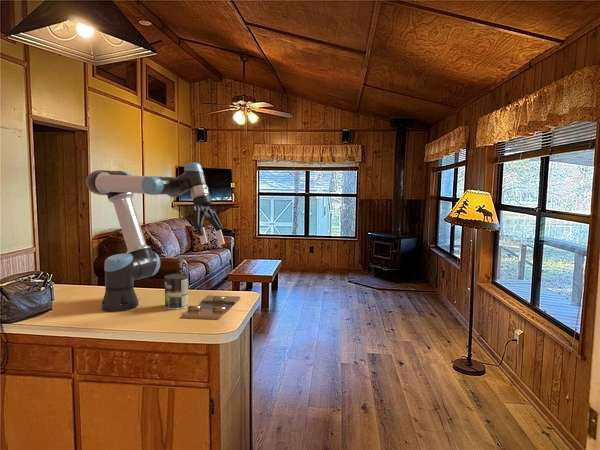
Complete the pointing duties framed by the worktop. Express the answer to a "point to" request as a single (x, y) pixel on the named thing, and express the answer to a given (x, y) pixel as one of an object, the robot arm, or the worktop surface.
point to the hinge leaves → (211, 307)
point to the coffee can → (176, 291)
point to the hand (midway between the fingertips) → (213, 244)
